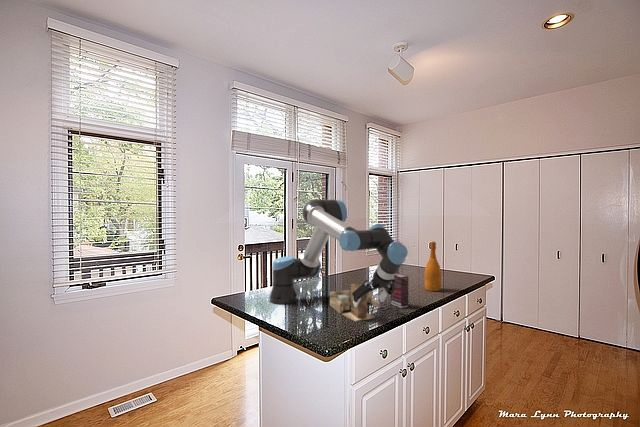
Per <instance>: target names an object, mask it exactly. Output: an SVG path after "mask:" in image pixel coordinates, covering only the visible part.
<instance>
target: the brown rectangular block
mask: <svg viewBox="0 0 640 427" xmlns="http://www.w3.org/2000/svg"><path fill="white" fill-rule="evenodd" d="M362 284H363V283H360V282H358V283H351V284H350V290H351V309H350V312H351V313H352V314H353V315H354V316H356V317H357V318H364V317H367V313H368V303H367V294H366V295H364V296H363V297H361V300H360V302H359V304H358V306H357V307H355V306H354V304H353V301H354V297H353V295H352V293H353V292H354V291H355V290H356V289H358V288H359V287H360V286H361V285H362Z"/></svg>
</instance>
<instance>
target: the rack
mask: <svg viewBox="0 0 640 427" xmlns="http://www.w3.org/2000/svg"><path fill="white" fill-rule="evenodd" d="M373 293H374V291H370V292H369V293H367V304H368V303H369V304H370V305H372V306H373V307H376V308H378V309H381V302H379V301H378V300H375V299H374V298H373V296H374V295H373ZM338 295H346V296H348V297H349V304H350V310H351V289H350V290H349V289H347V290H337V291H330V292H329V306H330V307H331V308H333V309H334V310H335V311H336V312H337V313H339V314H342V313H344V311H343V302H341V301H340V300H338Z"/></svg>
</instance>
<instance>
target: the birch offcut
mask: <svg viewBox="0 0 640 427" xmlns="http://www.w3.org/2000/svg"><path fill="white" fill-rule="evenodd" d="M344 311H345V312H346V311H351V309H350V304H349V303H344V304H343V312H344Z"/></svg>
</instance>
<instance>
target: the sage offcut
mask: <svg viewBox="0 0 640 427" xmlns="http://www.w3.org/2000/svg"><path fill="white" fill-rule="evenodd" d="M338 300H340V301H341V302H343V304H344V303H349V297H348V296H346V295H338Z"/></svg>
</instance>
